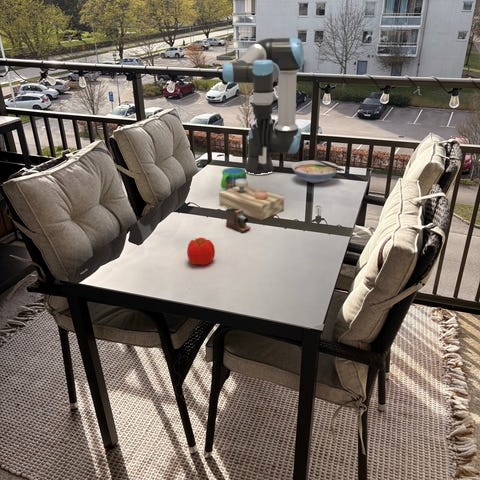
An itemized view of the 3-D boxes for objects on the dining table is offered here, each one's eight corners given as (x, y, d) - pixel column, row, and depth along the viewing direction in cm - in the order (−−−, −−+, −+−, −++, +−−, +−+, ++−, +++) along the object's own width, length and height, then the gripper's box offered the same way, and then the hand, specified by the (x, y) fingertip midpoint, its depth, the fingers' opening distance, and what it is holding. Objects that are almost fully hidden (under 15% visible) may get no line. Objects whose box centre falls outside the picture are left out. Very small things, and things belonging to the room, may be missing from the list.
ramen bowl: (281, 177, 234) (281, 161, 230) (319, 171, 242) (320, 156, 239) (308, 192, 213) (309, 175, 210) (348, 185, 222) (350, 168, 218)
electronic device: (242, 233, 172) (242, 215, 169) (225, 226, 178) (224, 208, 175) (251, 230, 175) (251, 211, 171) (233, 223, 181) (233, 205, 178)
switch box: (242, 197, 208) (242, 184, 205) (283, 210, 192) (284, 197, 190) (219, 205, 199) (219, 192, 196) (261, 220, 183) (261, 206, 181)
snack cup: (238, 185, 223) (238, 164, 219) (254, 190, 216) (254, 169, 212) (214, 193, 213) (213, 171, 209) (229, 198, 206) (229, 176, 202)
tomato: (200, 253, 158) (199, 233, 154) (220, 260, 153) (219, 240, 149) (181, 263, 151) (179, 242, 148) (200, 271, 146) (199, 250, 143)
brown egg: (260, 204, 195) (260, 189, 192) (269, 207, 191) (269, 192, 189) (251, 207, 191) (252, 192, 188) (261, 210, 188) (261, 195, 185)
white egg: (241, 192, 200) (241, 177, 198) (250, 194, 197) (250, 180, 194) (233, 195, 197) (232, 180, 194) (241, 197, 194) (241, 183, 191)
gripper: (266, 99, 183) (266, 157, 194) (244, 104, 175) (244, 164, 185) (281, 102, 179) (279, 161, 189) (258, 106, 170) (258, 168, 181)
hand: (262, 162), depth 187 cm, fingers closed
